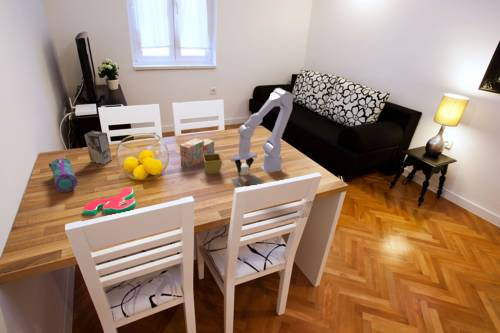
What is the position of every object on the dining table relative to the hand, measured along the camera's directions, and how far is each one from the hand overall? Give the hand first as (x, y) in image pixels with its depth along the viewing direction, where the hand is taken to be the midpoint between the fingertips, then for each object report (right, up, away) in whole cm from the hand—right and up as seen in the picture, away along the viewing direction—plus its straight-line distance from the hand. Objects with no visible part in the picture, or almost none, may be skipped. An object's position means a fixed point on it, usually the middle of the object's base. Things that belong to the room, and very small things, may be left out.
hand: (243, 171), depth 149 cm
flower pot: (-17, -1, 0) cm, 17 cm away
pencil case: (-84, -5, -17) cm, 86 cm away
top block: (0, -1, +1) cm, 1 cm away
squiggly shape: (-56, -14, -30) cm, 65 cm away
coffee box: (-78, +5, +3) cm, 78 cm away
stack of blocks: (-26, +6, +12) cm, 30 cm away
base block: (+2, -7, -11) cm, 13 cm away
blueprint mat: (+3, -6, -9) cm, 11 cm away
